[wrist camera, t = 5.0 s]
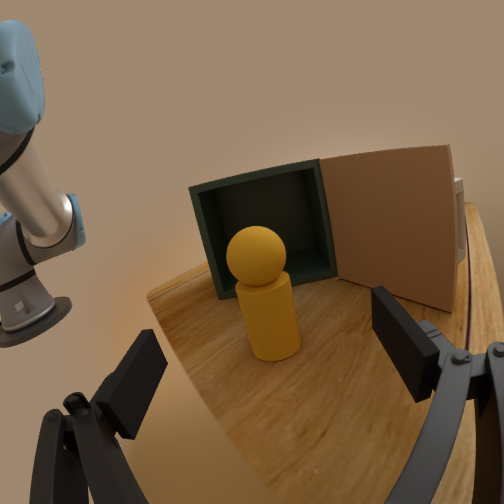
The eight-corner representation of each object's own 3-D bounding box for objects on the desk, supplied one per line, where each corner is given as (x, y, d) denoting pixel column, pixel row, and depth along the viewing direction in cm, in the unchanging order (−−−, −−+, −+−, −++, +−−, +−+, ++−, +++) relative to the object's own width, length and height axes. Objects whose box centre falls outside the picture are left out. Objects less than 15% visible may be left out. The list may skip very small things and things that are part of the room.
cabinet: (339, 275, 35) (319, 158, 31) (218, 300, 37) (188, 187, 33) (321, 250, 47) (304, 161, 43) (228, 269, 48) (206, 182, 44)
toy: (255, 367, 22) (220, 241, 19) (248, 339, 26) (219, 229, 23) (309, 352, 22) (286, 224, 19) (294, 326, 27) (272, 216, 24)
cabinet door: (367, 262, 37) (351, 154, 33) (471, 286, 23) (466, 143, 19) (338, 277, 35) (318, 159, 31) (451, 312, 20) (446, 144, 17)
